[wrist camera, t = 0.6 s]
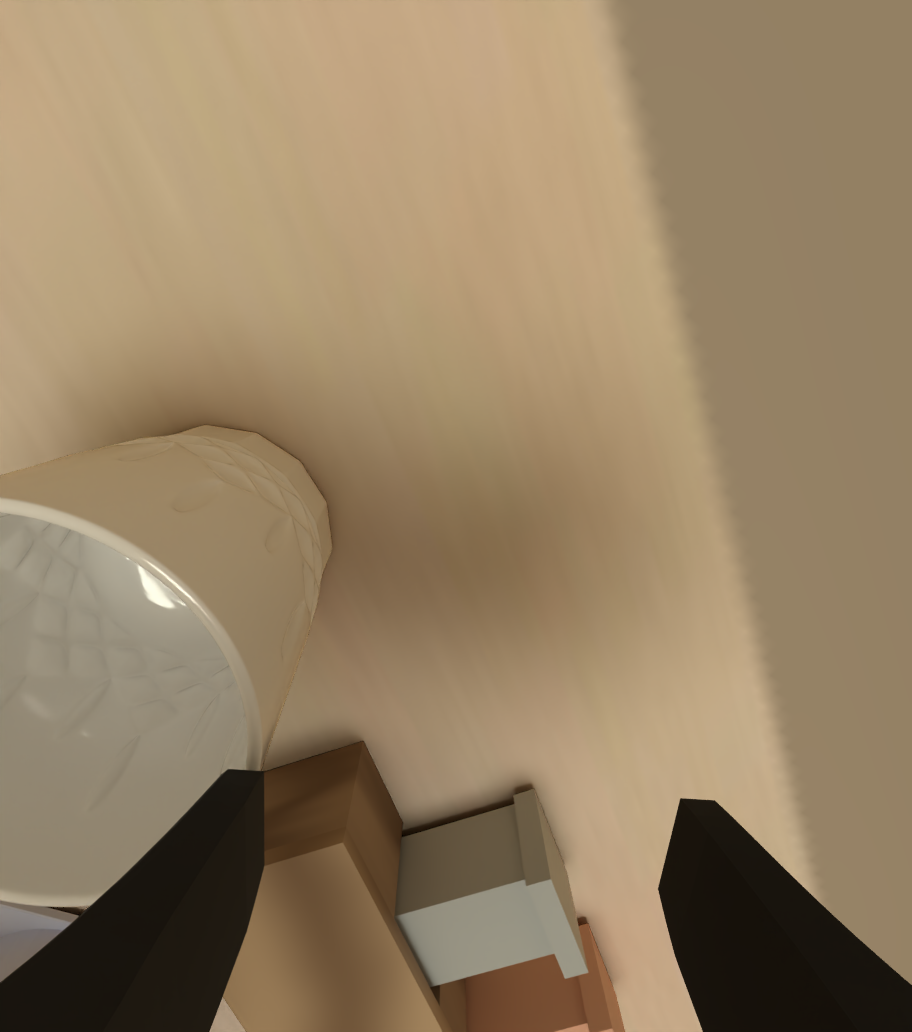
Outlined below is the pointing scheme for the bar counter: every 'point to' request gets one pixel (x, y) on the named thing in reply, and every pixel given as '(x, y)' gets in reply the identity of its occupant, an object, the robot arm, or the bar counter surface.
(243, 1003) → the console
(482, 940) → the plunger grey
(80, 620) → the white cup
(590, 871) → the bar counter surface
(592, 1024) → the flanged terracotta block
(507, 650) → the bar counter surface
